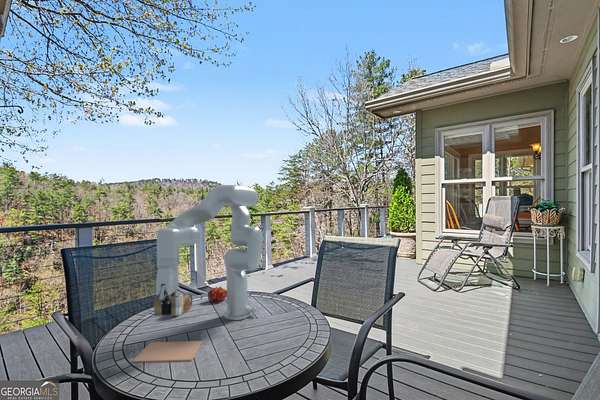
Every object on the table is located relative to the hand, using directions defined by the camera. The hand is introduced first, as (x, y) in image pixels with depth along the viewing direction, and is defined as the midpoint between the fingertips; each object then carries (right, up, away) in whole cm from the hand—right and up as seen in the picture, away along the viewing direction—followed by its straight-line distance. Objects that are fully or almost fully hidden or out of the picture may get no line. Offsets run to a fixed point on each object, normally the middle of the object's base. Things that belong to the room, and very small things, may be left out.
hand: (169, 311), depth 116 cm
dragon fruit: (+3, -14, +56) cm, 58 cm away
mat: (0, -15, 0) cm, 15 cm away
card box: (0, -1, 0) cm, 1 cm away
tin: (-10, -15, +40) cm, 44 cm away
